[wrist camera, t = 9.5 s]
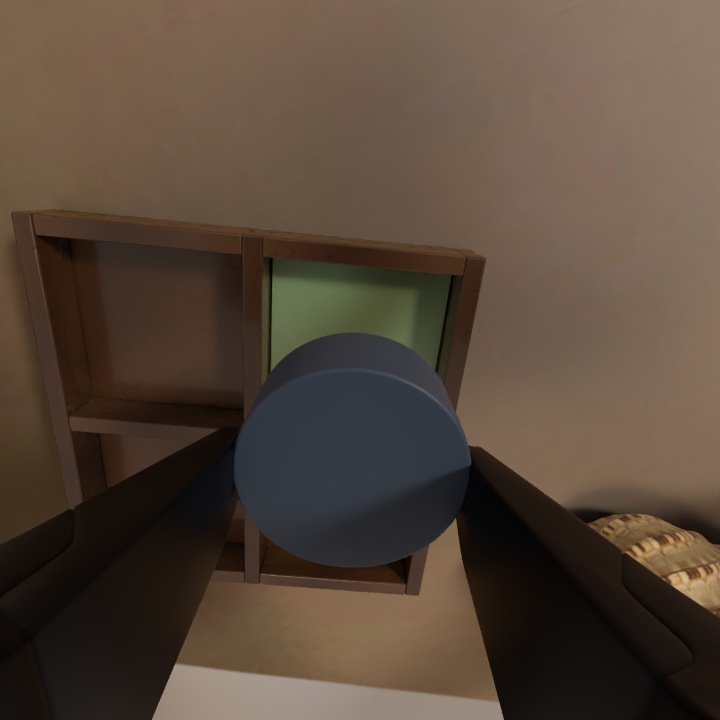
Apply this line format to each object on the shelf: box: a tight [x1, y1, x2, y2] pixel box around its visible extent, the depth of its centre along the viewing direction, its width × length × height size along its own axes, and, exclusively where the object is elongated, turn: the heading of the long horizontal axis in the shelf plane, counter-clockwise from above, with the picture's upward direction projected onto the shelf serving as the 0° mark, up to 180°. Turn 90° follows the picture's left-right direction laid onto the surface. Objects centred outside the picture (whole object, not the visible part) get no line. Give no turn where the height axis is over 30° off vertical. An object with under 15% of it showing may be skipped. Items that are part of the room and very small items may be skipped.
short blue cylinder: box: [234, 332, 471, 567], centre depth 9 cm, size 4×4×2 cm
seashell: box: [586, 514, 720, 617], centre depth 17 cm, size 8×6×10 cm
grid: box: [11, 209, 486, 596], centre depth 16 cm, size 14×14×2 cm
